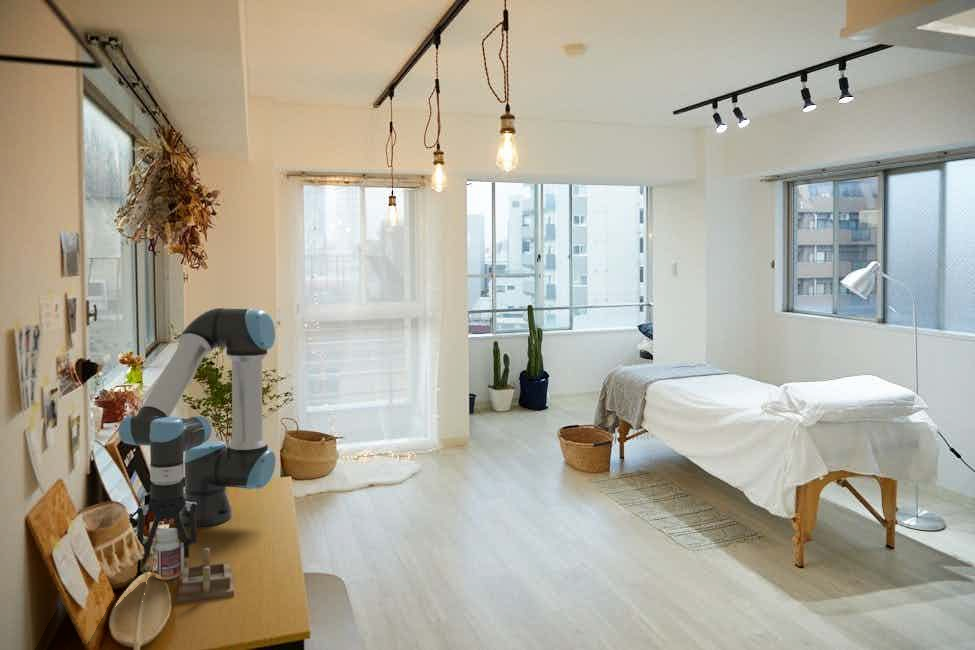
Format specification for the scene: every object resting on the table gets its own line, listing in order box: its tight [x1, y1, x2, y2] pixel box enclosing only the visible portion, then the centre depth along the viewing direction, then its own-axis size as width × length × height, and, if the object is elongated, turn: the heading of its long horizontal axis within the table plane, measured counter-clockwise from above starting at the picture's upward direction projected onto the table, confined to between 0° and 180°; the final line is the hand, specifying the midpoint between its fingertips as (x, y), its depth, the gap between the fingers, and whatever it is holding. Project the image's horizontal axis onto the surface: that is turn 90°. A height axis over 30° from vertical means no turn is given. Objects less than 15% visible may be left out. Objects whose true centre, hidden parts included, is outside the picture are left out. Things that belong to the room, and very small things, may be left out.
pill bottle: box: [153, 527, 182, 581], centre depth 181 cm, size 6×6×11 cm
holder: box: [177, 547, 235, 604], centre depth 175 cm, size 14×12×7 cm
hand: (167, 572), depth 181 cm, fingers closed on pill bottle, 6 cm apart
